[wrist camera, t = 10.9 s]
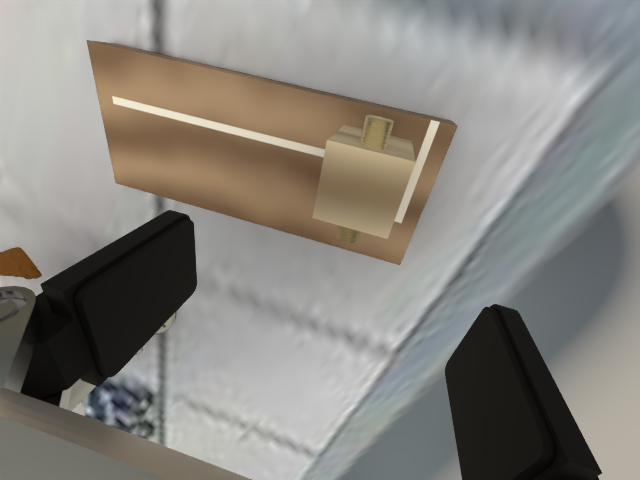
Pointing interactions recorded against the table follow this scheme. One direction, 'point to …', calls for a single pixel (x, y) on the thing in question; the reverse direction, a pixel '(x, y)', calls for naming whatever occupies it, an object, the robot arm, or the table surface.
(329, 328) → the table surface
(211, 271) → the table surface
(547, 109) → the table surface
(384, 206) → the marking gauge
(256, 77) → the board
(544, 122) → the table surface
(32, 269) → the primitive tool
